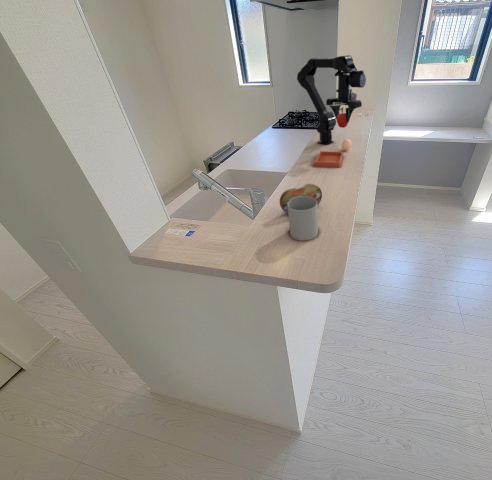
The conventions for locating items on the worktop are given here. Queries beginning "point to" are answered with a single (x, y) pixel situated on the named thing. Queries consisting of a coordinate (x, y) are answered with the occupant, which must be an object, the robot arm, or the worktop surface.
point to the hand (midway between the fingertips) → (342, 121)
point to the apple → (342, 119)
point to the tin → (300, 194)
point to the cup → (303, 217)
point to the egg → (346, 144)
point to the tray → (328, 159)
